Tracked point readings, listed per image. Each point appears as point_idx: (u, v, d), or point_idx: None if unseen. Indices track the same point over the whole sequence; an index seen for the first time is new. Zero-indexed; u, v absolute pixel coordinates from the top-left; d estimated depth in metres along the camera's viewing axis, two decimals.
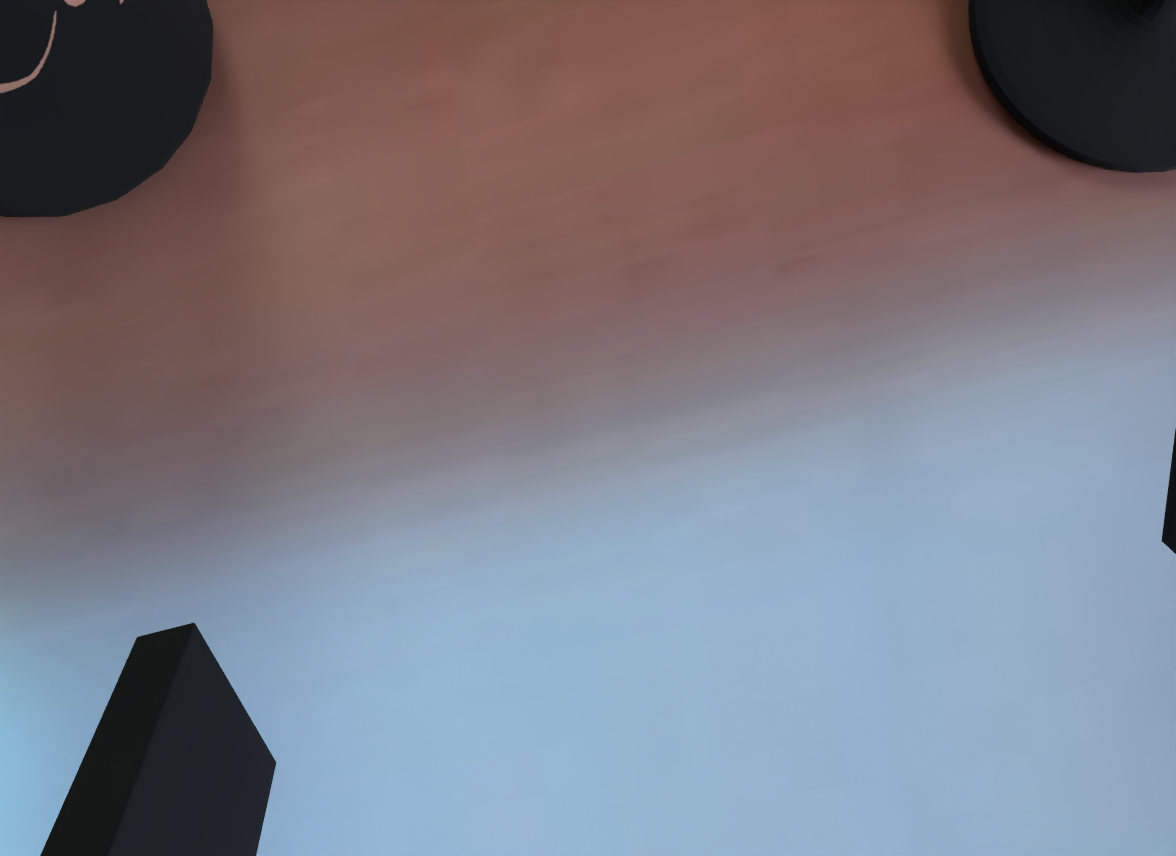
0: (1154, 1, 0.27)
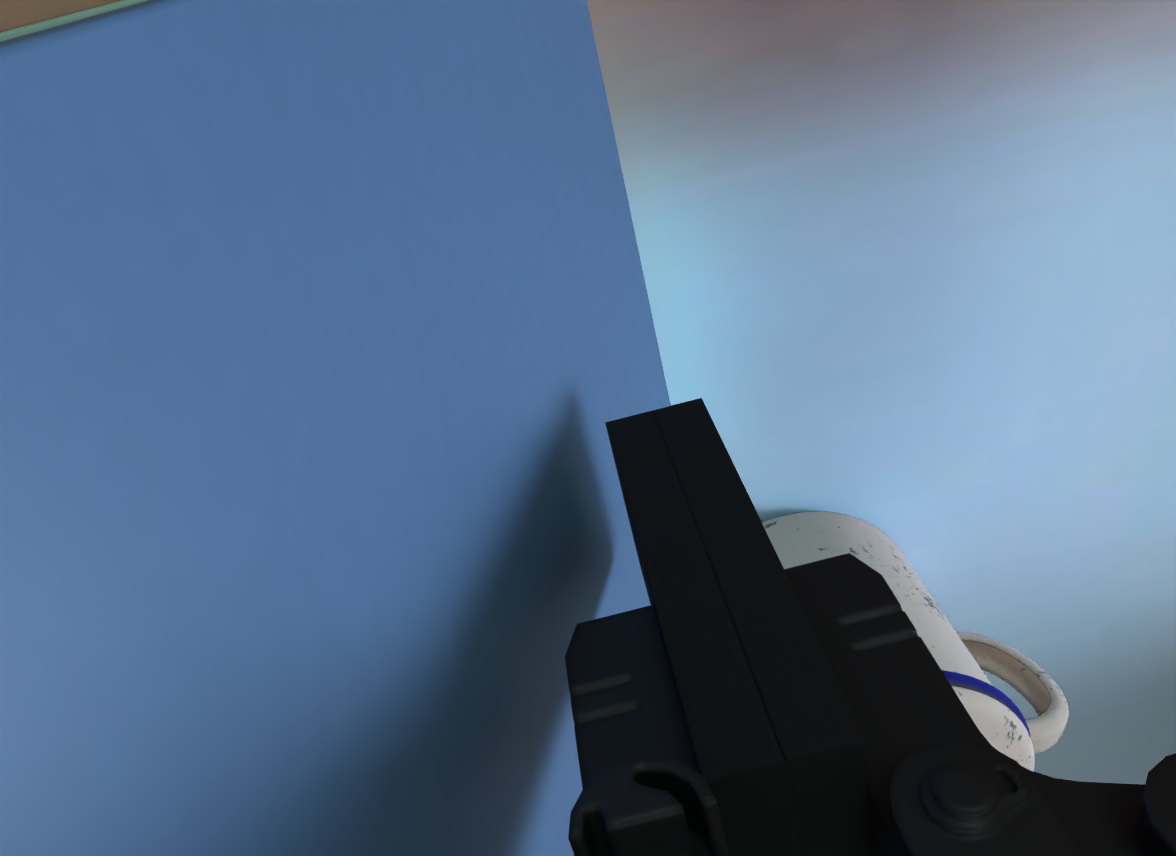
0: None
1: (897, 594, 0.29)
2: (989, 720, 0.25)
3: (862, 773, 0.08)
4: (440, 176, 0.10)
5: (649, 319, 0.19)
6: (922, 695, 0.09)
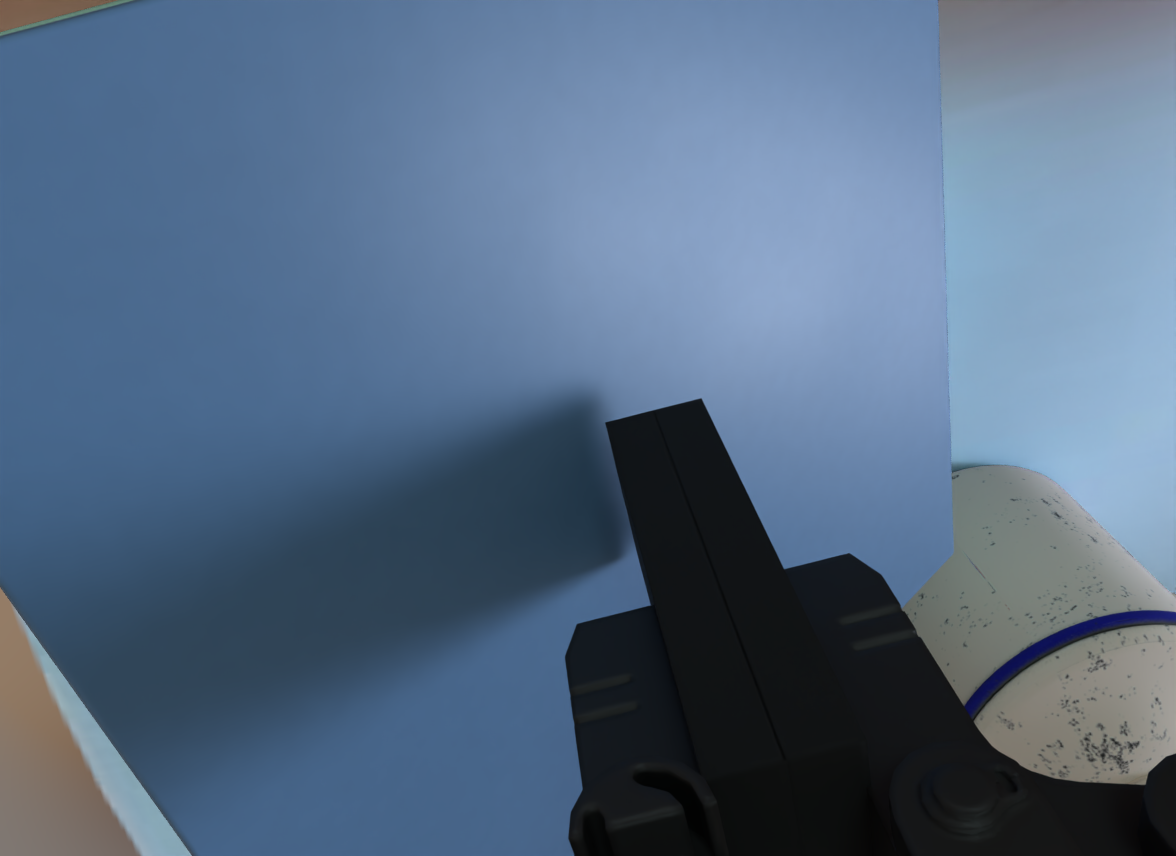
0: None
1: (1101, 542, 0.29)
2: None
3: (862, 773, 0.08)
4: (595, 80, 0.12)
5: (937, 246, 0.19)
6: (922, 695, 0.09)
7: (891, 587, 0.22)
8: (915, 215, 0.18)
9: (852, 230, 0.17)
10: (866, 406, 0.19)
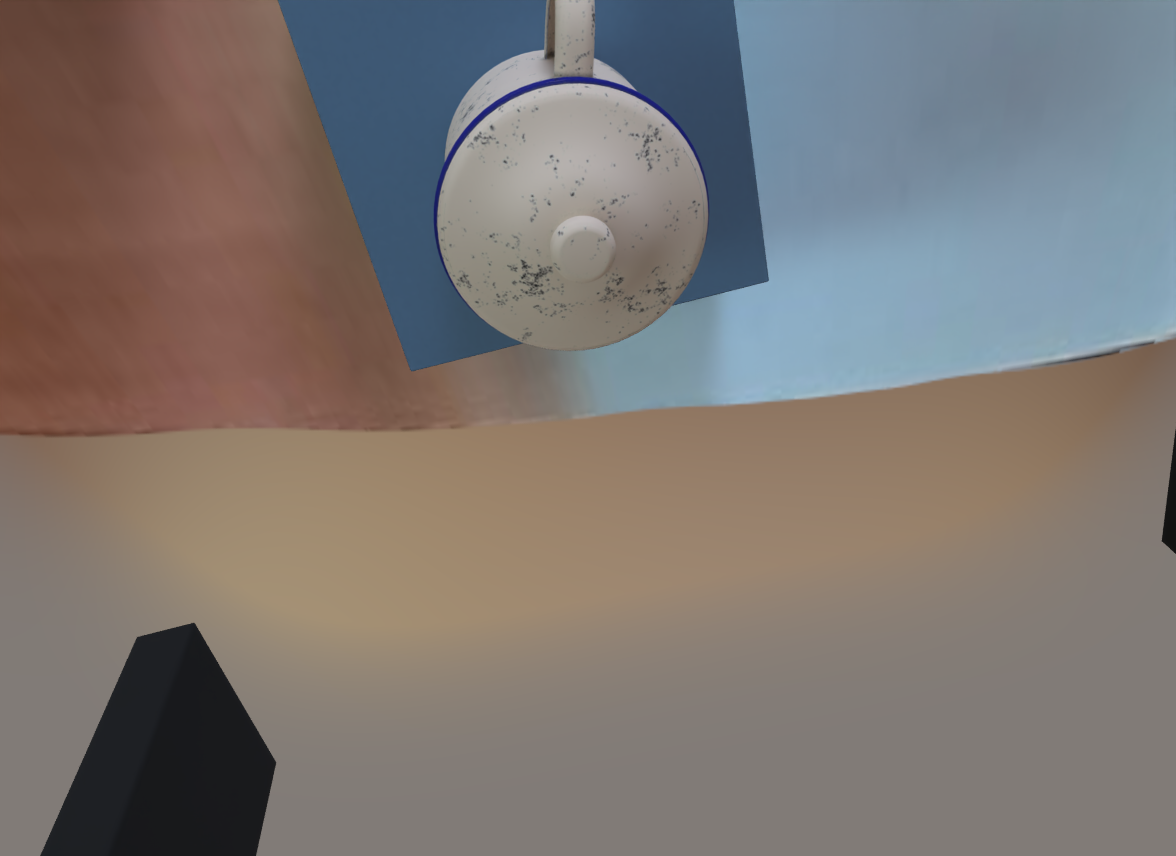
0: None
1: (447, 157, 0.33)
2: (465, 166, 0.28)
3: None
4: (397, 168, 0.37)
5: None
6: None
7: None
8: None
9: None
10: None
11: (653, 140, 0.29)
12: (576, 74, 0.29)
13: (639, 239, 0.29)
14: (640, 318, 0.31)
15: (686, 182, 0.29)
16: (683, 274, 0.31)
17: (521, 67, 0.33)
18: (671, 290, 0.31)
